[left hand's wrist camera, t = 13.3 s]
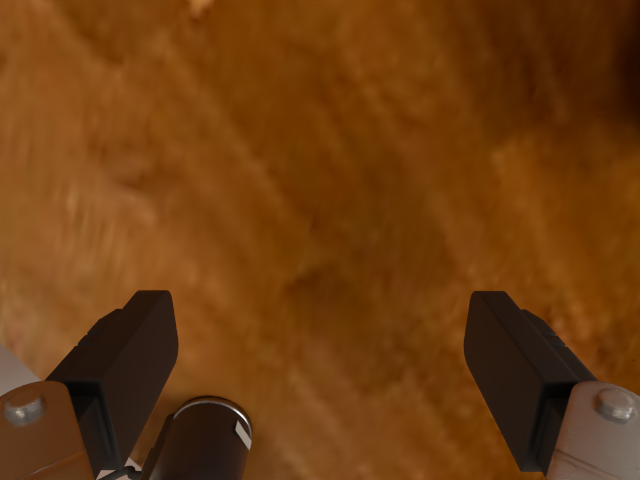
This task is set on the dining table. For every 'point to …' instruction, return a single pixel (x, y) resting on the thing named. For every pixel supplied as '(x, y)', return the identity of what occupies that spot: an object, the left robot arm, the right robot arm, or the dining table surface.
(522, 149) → the dining table surface
